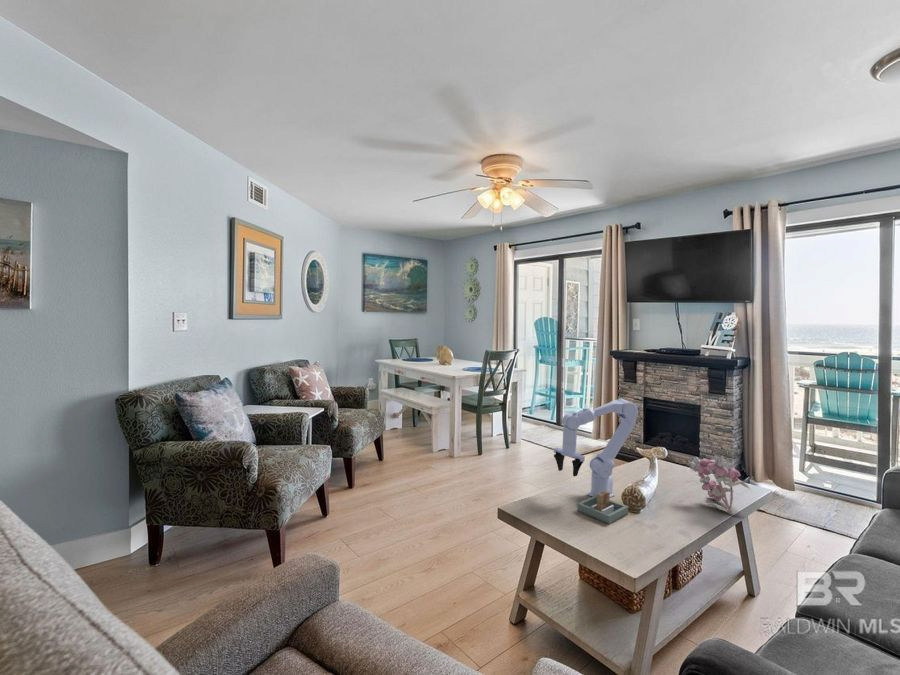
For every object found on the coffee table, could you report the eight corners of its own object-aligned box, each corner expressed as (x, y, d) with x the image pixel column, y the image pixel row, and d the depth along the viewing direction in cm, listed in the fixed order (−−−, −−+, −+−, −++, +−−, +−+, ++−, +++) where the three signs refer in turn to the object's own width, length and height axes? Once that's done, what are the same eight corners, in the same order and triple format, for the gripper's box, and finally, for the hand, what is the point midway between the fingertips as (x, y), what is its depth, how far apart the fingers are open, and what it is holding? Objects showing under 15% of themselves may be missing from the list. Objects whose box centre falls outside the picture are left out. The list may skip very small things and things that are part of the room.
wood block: (604, 508, 179) (605, 490, 179) (609, 510, 178) (609, 492, 177) (596, 512, 175) (597, 494, 175) (600, 514, 174) (601, 495, 173)
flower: (769, 509, 179) (746, 449, 188) (743, 516, 167) (720, 451, 176) (721, 513, 194) (702, 456, 203) (694, 519, 182) (675, 459, 191)
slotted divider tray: (596, 502, 186) (596, 494, 186) (627, 514, 176) (628, 506, 175) (577, 511, 177) (577, 503, 177) (609, 524, 167) (609, 516, 166)
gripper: (550, 439, 193) (548, 469, 194) (578, 448, 182) (576, 480, 183) (559, 437, 198) (558, 466, 198) (588, 445, 187) (586, 476, 187)
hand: (567, 473), depth 191 cm, fingers open, 7 cm apart
